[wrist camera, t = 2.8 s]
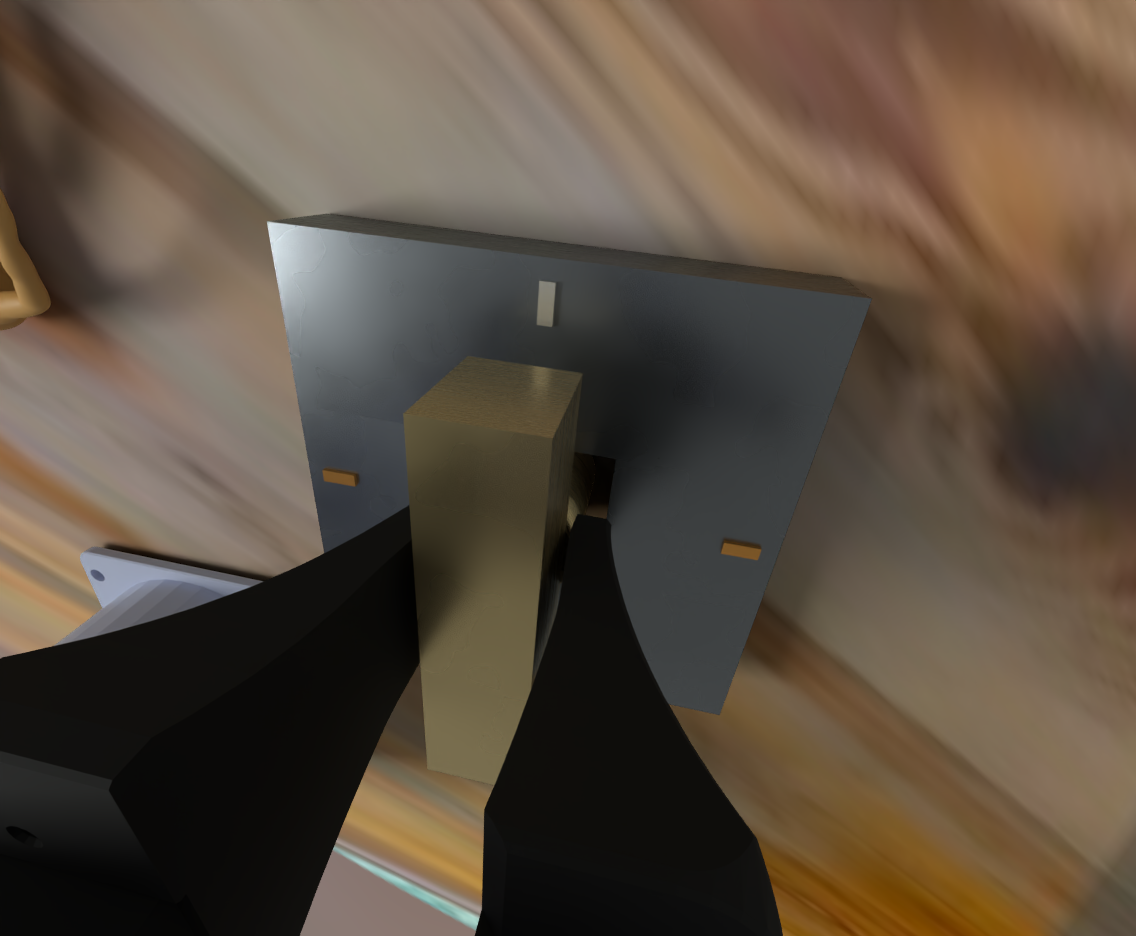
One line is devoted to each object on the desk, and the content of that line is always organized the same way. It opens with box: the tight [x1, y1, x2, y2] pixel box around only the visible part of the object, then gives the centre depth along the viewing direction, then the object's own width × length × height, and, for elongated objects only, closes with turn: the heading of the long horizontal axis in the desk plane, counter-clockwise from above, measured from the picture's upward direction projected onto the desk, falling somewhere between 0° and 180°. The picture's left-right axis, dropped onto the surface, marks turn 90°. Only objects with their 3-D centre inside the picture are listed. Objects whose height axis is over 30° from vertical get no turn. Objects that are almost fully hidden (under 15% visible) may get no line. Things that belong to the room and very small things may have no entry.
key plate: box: [267, 214, 872, 715], centre depth 13 cm, size 11×11×2 cm
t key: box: [403, 356, 596, 785], centre depth 12 cm, size 8×2×6 cm, turn 175°
